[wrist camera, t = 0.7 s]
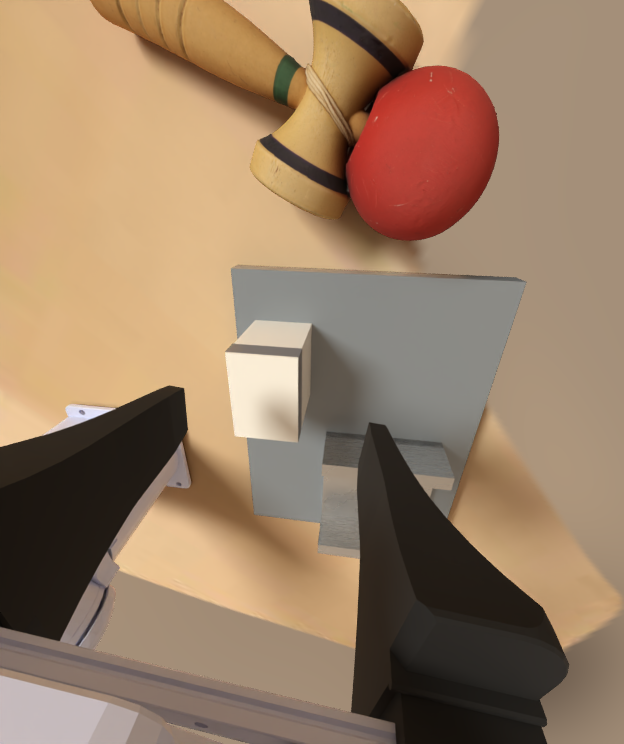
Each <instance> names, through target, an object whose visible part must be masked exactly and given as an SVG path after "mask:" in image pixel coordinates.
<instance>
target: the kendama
mask: <svg viewBox="0 0 624 744" xmlns="http://www.w3.org/2000/svg"><path fill="white" fill-rule="evenodd" d="M90 1H91V2H92V4H93V6H94V7H95V9H96V10H97V11H98V12H99V13H100V15H101V16H103V17H104V18H105V19H106V20H108V21H109V22H111V23H113V24H115V25H117V26H119V27H122V28H124V29H126V30H128V31H130V32H132V33H134V34H137V35H139V36H141V37H143V38H144V39H146V40H149V41H151V42H153V43H155V44H157V45H159V46H161V47H163V48H164V49H166V50H168V51H170V52H172V53H175V54H176V55H178V56H180V57H182V58H183V59H185V60H187V61H189V62H191V63H194V64H195V65H197V66H198V67H200V68H202V69H204V70H206V71H208V72H210V73H212V74H214V75H216V76H218V77H220V78H222V79H224V80H226V81H228V82H230V83H232V84H234V85H237V86H239V87H241V88H243V89H245V90H248V91H251V92H253V93H256V94H258V95H260V96H263V97H266V98H268V99H271V100H273V101H276V102H278V103H280V104H283V105H286V106H288V107H290V108H293V109H295V112H294V113H293V115H292V116H291V117H290V118H289V119H288V121H287V122H286V123H285V124H284V125H282V126H281V127H280V128H279V129H278V130H276V131H275V132H274V133H272V134H270V135H269V136H267V137H264V138H262V139H260V140H258V141H257V142H256V145H255V149H254V153H253V157H252V160H251V164H250V170H251V172H252V173H253V175H254V176H255V177H256V179H258V180H259V181H260V182H261V183H262V184H263V185H264V186H266V187H267V188H268V189H269V190H271V191H272V192H274V193H275V194H277V195H278V196H280V197H281V198H283V199H284V200H286V201H288V202H290V203H291V204H293V205H295V206H297V207H298V208H300V209H302V210H304V211H306V212H309V213H311V214H313V215H315V216H319V217H322V218H325V219H333V220H334V219H339V218H340V216H341V215H342V213H343V211H344V209H345V207H346V206H347V204H348V202H349V200H350V198H351V199H352V201H353V203H354V206H355V208H356V210H357V211H358V213H359V214H360V216H361V217H362V219H363V220H364V221H365V222H366V223H367V224H368V225H369V226H370V227H371V228H373V229H374V230H375V231H377V232H379V233H380V234H382V235H385V236H387V237H390V238H393V239H398V240H405V241H412V240H422V239H426V238H430V237H433V236H435V235H437V234H440V233H442V232H444V231H445V230H447V229H448V228H450V227H451V226H453V225H454V224H455V223H456V222H457V221H459V220H460V219H461V218H462V217H463V216H464V215H465V214H466V213H467V212H469V210H470V209H471V208H472V207H473V206H474V204H475V203H476V202H477V201H478V199H479V198H480V196H481V195H482V193H483V191H484V189H485V188H486V186H487V183H488V181H489V179H490V177H491V174H492V171H493V169H494V165H495V162H496V158H497V152H498V146H499V126H498V121H497V116H496V115H497V113H496V112H495V109H494V106H493V104H492V102H491V100H490V98H489V96H488V95H487V93H486V92H485V90H484V89H483V88H482V87H481V85H480V84H479V83H478V82H477V81H476V80H474V79H473V78H472V77H471V76H470V75H468V74H466V73H464V72H462V71H460V70H457V69H456V68H451V67H447V66H427V67H422V68H419V69H415V70H412V69H413V66H414V64H415V62H416V60H417V57H418V55H419V53H420V50H421V48H422V45H423V42H424V40H423V34H422V30H421V28H420V25H419V24H418V22H417V21H416V19H415V18H414V17H413V15H412V14H411V13H410V11H409V10H408V9H407V7H406V6H405V5H404V4H403V3H402V2H401V1H400V0H309V4H310V11H311V16H312V23H313V36H314V52H313V61H312V65H311V66H310V65H309V64H307V68H303V67H302V66H300V65H299V64H298V63H297V62H296V61H295V59H294V58H293V57H291V56H290V55H288V54H287V53H286V52H285V51H284V50H283V49H281V48H280V47H279V46H278V45H277V44H276V43H275V42H274V41H272V40H271V39H270V38H269V37H268V36H267V35H266V34H265V33H263V32H262V31H261V30H260V29H259V28H257V27H256V26H255V25H254V24H253V23H252V22H250V21H249V20H248V19H247V18H245V17H244V16H243V15H242V14H240V13H239V12H238V11H236V10H235V9H234V8H233V7H231V6H230V5H229V4H227V3H226V2H224V1H223V0H90ZM372 101H373V102H372Z"/></svg>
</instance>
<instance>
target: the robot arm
mask: <svg viewBox="0 0 624 744" xmlns="http://www.w3.org/2000/svg"><path fill="white" fill-rule="evenodd" d="M66 412H67V415H68V417H67V418H66V419H65V420H63V421H62V422H60V423H59V424H58V425H56V426H55V427H53V428H52V429H51V430H49V431H48V432H46V433H45V434H44V435H42V436H39V437H36V438H32V439H29V440H25V441H21V442H18V443H14V444H10V445H7V446H3V447H0V744H222V743H219V742H217V741H214V740H211V739H209V738H206V737H203V736H200V735H198V734H195V733H192V732H189V731H187V730H184V729H181V728H178V727H175V726H172V725H169V724H167V723H171V724H175V725H179V726H182V727H187V728H190V729H194V730H198V731H202V732H206V733H210V734H214V735H218V736H222V737H226V738H230V739H233V740H238V741H241V742H245V743H249V744H547V742H546V739H545V736H544V733H543V730H542V727H545V726H546V725H547V719H546V716H545V713H544V710H543V708H542V705H541V702H540V699H541V698H542V697H543V696H544V695H546V694H547V693H548V692H550V691H551V690H552V689H553V688H555V687H556V686H557V685H559V684H560V683H561V682H562V681H563V679H564V678H565V677H566V675H567V673H568V668H569V663H568V661H567V659H566V656H565V654H564V652H563V650H562V647H561V645H560V643H559V640H558V638H557V636H556V633H555V631H554V629H553V627H552V625H551V623H550V621H549V619H548V617H547V615H546V613H545V611H544V610H543V608H542V607H541V606H540V605H539V604H538V603H536V602H535V601H534V600H533V599H532V598H530V597H529V596H528V595H527V594H526V593H524V592H523V591H522V590H521V589H520V588H519V587H517V586H516V585H515V584H514V583H513V582H511V581H510V580H509V579H508V578H507V577H505V576H504V575H503V574H502V573H501V572H500V571H499V570H498V569H497V568H495V567H494V566H493V565H492V564H491V563H490V562H489V561H488V560H487V559H486V558H485V557H484V556H483V555H482V554H480V553H479V552H478V551H477V550H476V549H475V548H474V547H473V546H472V545H471V544H470V543H469V542H468V541H467V540H466V538H465V537H464V536H463V535H462V534H461V533H460V532H459V531H458V530H457V529H456V528H455V527H454V526H453V525H452V524H451V522H450V521H449V520H448V519H447V518H446V517H445V516H444V514H443V513H442V512H441V511H440V510H439V508H438V507H437V506H436V505H435V503H434V502H433V501H432V500H431V498H430V497H429V496H428V494H427V493H426V492H425V490H424V489H423V487H422V486H421V484H420V483H419V482H418V480H417V479H416V477H415V476H414V474H413V473H412V471H411V469H410V468H409V466H408V464H407V463H406V461H405V460H404V458H403V456H402V454H401V453H400V451H399V449H398V447H397V445H396V444H395V442H394V440H393V438H392V436H391V434H390V432H389V430H388V428H387V427H386V425H382V424H376V423H371V422H369V424H368V428H367V432H366V435H365V439H364V443H363V447H362V451H361V454H360V458H359V462H358V475H357V503H358V522H359V540H360V572H359V595H358V616H357V633H356V650H355V651H356V652H355V667H354V680H353V694H352V708H351V712H347V711H343V710H339V709H335V708H331V707H327V706H323V705H319V704H314V703H310V702H306V701H302V700H298V699H294V698H290V697H286V696H282V695H277V694H273V693H269V692H265V691H261V690H257V689H252V688H249V687H244V686H240V685H236V684H232V683H228V682H224V681H220V680H216V679H212V678H208V677H203V676H199V675H195V674H191V673H187V672H183V671H178V670H175V669H171V668H166V667H162V666H158V665H154V664H150V663H146V662H141V661H138V660H134V659H129V658H125V657H121V656H117V655H113V654H109V653H105V652H100V651H97V650H95V648H96V647H97V645H98V643H99V642H100V640H101V638H102V636H103V634H104V632H105V630H106V628H107V626H108V624H109V622H110V619H111V617H112V613H113V609H114V601H115V595H116V592H115V588H114V587H113V586H112V585H110V582H111V581H112V579H113V577H114V576H115V574H116V573H117V571H118V570H119V568H120V567H119V566H118V565H117V564H116V563H115V562H114V560H115V559H116V557H117V556H118V554H119V553H120V552H121V550H122V549H123V547H124V546H125V544H126V543H127V541H128V540H129V539H130V537H131V536H132V534H133V533H134V531H135V530H136V528H137V527H138V525H139V524H140V523H141V521H142V520H143V518H144V517H145V515H146V514H147V512H148V511H149V510H150V508H151V507H152V505H153V504H154V502H155V501H156V499H157V498H158V497H159V495H160V494H161V492H162V491H163V489H164V488H165V486H169V487H178V488H189V487H190V485H191V479H190V475H189V470H188V466H187V461H186V456H185V452H184V447H183V443H182V440H183V438H184V436H185V434H186V432H187V430H188V426H187V415H186V404H185V393H184V388H180V387H175V386H166V387H164V388H161V389H159V390H156V391H154V392H152V393H150V394H147V395H145V396H143V397H141V398H139V399H136V400H134V401H132V402H130V403H127V404H125V405H123V406H121V407H118V408H108V407H98V406H88V405H77V404H70V405H68V406H67V407H66ZM166 722H167V723H166Z"/></svg>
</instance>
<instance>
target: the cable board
mask: <svg viewBox="0 0 624 744" xmlns="http://www.w3.org/2000/svg"><path fill="white" fill-rule="evenodd" d="M231 275H232V286H233V296H234V307H235V317H236V328H237V338H239V337H240V336H241V335H242V334H243V333H244V332H245V331H246V330H247V328H248V327H249V326H250V325H251V324H252V323H253V322H254V321H255V320H263V321H279V322H295V323H311V324H312V334H311V377H310V397H309V401H308V405H307V409H306V412H305V416H304V420H303V424H302V428H301V434H300V438H299V442H298V443H297V442H287V441H277V440H267V439H258V438H248V437H247V444H248V455H249V465H250V476H251V487H252V497H253V508H254V515H261V516H269V517H276V518H284V519H292V520H300V521H308V522H316V523H321V515H322V498H323V479H324V476H322V461H323V454H324V446H325V439H326V432H327V431H329V432H339V433H349V434H360V435H366V432H367V428H368V424H369V422H371V423H376V424H382V425H386V427H387V428H388V430H389V432H390V434H391V436H392V438H401V439H411V440H421V441H431V442H442V445H443V448H444V450H445V453H446V456H447V458H448V461H449V464H450V467H451V469H452V472H453V475H454V478H455V480H454V483H453V486H452V489H451V490H442V489H433V488H432V492H431V495H430V498H431V500H432V501H433V502H434V503H435V505H436V506H437V507H438V508H439V510H440V511H441V512H442V513H443V514H444V516H445V517H446V518H448V515H449V512H450V509H451V506H452V503H453V500H454V497H455V494H456V491H457V488H458V485H459V482H460V479H461V476H462V473H463V470H464V467H465V464H466V461H467V458H468V455H469V452H470V449H471V446H472V443H473V440H474V437H475V434H476V431H477V428H478V425H479V422H480V420H481V417H482V414H483V411H484V408H485V405H486V402H487V399H488V395H489V393H490V390H491V387H492V384H493V381H494V378H495V375H496V372H497V369H498V365H499V363H500V360H501V357H502V354H503V351H504V348H505V344H506V342H507V339H508V336H509V333H510V330H511V327H512V324H513V321H514V318H515V315H516V312H517V309H518V306H519V303H520V300H521V297H522V294H523V291H524V288H525V285H526V282H525V281H523V280H521V279H518V278H514V277H493V276H470V275H447V274H426V273H403V272H381V271H358V270H336V269H314V268H291V267H269V266H247V265H237V266H235V267H233V268H231Z"/></svg>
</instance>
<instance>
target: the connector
mask: <svg viewBox="0 0 624 744" xmlns="http://www.w3.org/2000/svg"><path fill="white" fill-rule="evenodd" d="M311 334H312V324H311V323H295V322H279V321H263V320H255V321H254V322H253V323H252V324H251V325H250V326H249V327H248V328H247V330H246V331H245V332H244V333H243V334H242V335H241V336H240V337H239V338H238V339H237V340H236V341H235V343H234V344H232V345H231V346H230V347H229V348H228V349H227V350H226V351H225V356H226V365H227V373H228V382H229V390H230V399H231V408H232V416H233V425H234V433H235V436H238V437H248V438H258V439H267V440H277V441H287V442H297V443H298V442H299V438H300V434H301V428H302V424H303V420H304V416H305V412H306V409H307V405H308V401H309V397H310V377H311Z"/></svg>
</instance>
